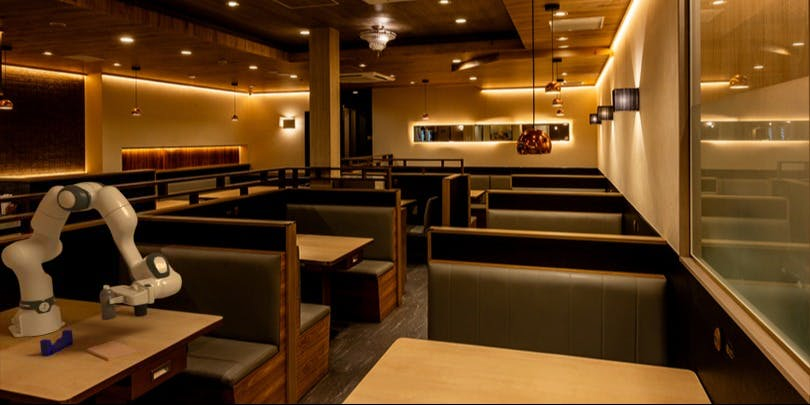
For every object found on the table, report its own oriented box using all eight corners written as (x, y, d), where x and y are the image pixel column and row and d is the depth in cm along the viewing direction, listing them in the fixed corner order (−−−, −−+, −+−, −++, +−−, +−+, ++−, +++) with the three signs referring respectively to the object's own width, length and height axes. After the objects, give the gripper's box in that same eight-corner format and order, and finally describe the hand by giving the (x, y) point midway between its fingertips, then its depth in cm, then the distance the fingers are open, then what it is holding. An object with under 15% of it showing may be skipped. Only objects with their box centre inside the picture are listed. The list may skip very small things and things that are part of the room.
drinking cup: (144, 311, 258) (141, 268, 256) (153, 314, 254) (150, 270, 251) (128, 315, 252) (125, 272, 249) (137, 318, 247) (134, 274, 245)
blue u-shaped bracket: (63, 344, 218) (61, 329, 217) (73, 344, 217) (72, 329, 217) (37, 356, 206) (36, 340, 206) (48, 356, 206) (47, 341, 205)
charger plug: (99, 318, 207) (96, 286, 206) (111, 315, 211) (109, 283, 210) (105, 320, 205) (103, 288, 203) (118, 317, 208) (115, 285, 207)
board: (87, 351, 210) (86, 348, 210) (113, 343, 218) (113, 340, 218) (108, 360, 201) (108, 358, 201) (135, 351, 209) (135, 349, 209)
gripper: (126, 279, 223) (90, 287, 212) (155, 287, 211) (118, 296, 200) (127, 295, 224) (91, 303, 213) (156, 303, 212) (119, 313, 201)
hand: (104, 300), depth 206 cm, fingers closed on charger plug, 5 cm apart
